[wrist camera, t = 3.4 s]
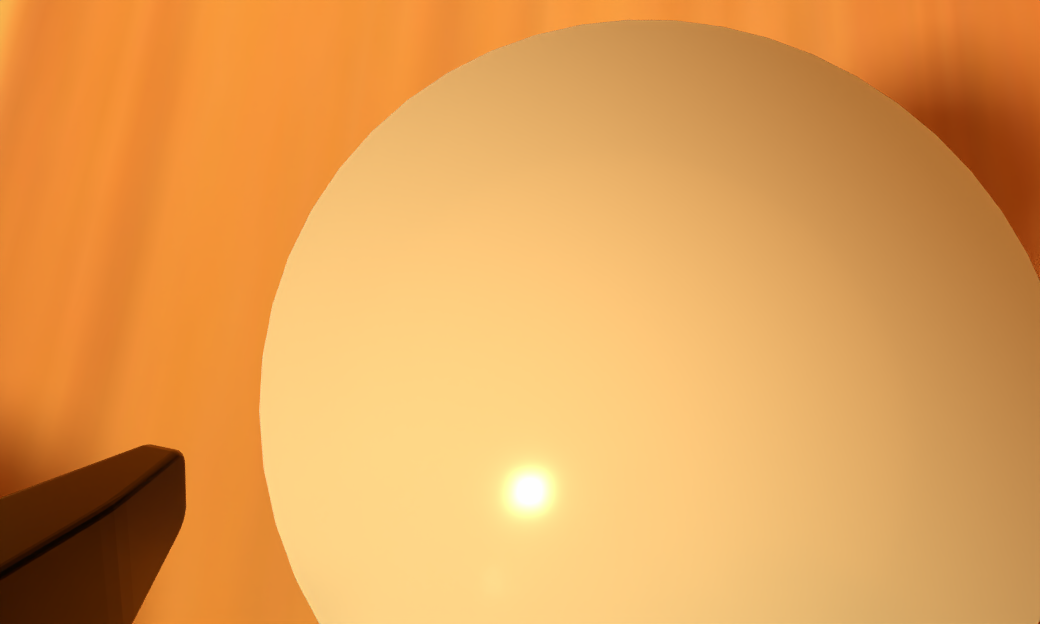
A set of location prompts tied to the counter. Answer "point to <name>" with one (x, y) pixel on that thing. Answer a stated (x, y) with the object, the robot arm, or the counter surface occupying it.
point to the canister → (656, 352)
